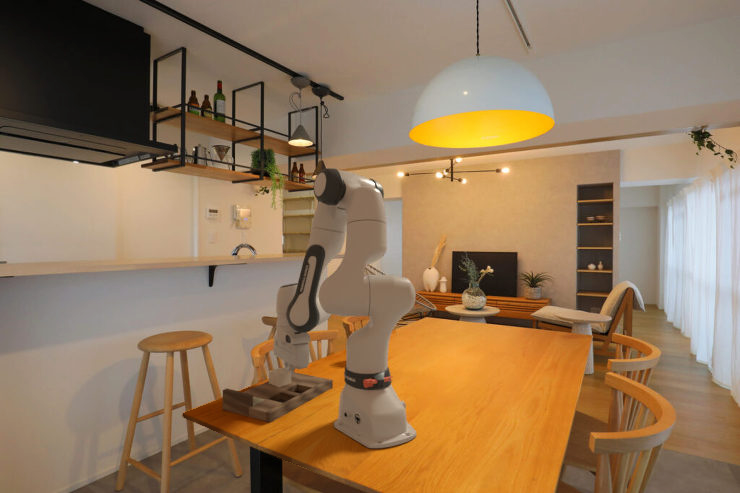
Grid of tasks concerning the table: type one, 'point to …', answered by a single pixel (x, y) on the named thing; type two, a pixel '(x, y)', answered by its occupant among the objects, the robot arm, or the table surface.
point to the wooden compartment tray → (275, 397)
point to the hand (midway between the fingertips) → (289, 375)
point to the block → (280, 377)
